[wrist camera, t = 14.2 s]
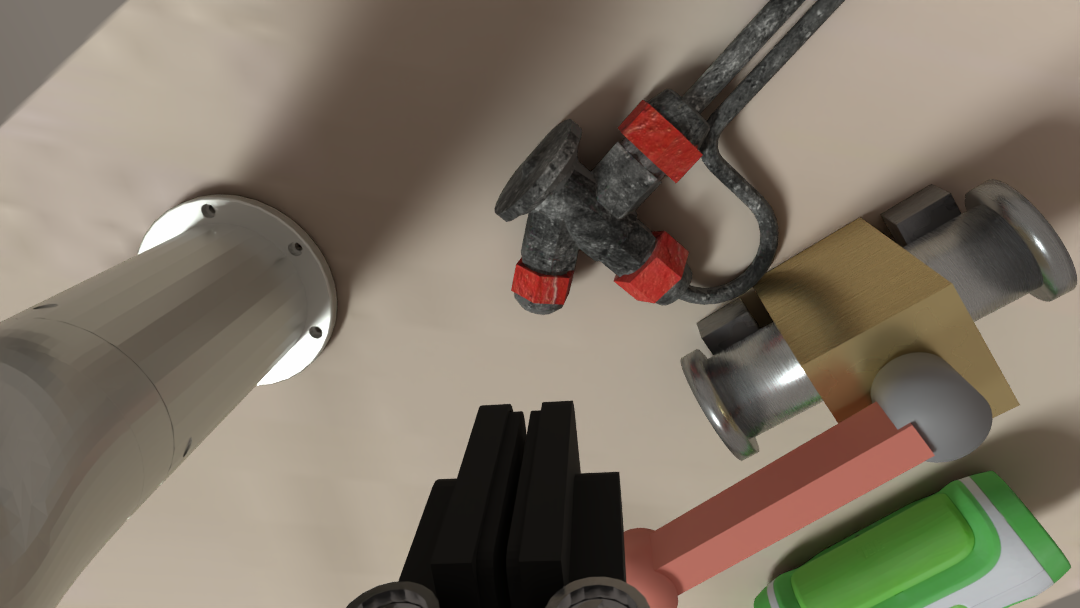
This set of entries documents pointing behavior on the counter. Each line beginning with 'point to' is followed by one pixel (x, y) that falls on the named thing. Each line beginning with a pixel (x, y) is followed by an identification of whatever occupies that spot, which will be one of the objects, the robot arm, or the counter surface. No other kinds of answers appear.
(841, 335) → the pipe valve
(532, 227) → the valve
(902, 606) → the speaker
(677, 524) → the lever
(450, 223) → the counter surface
